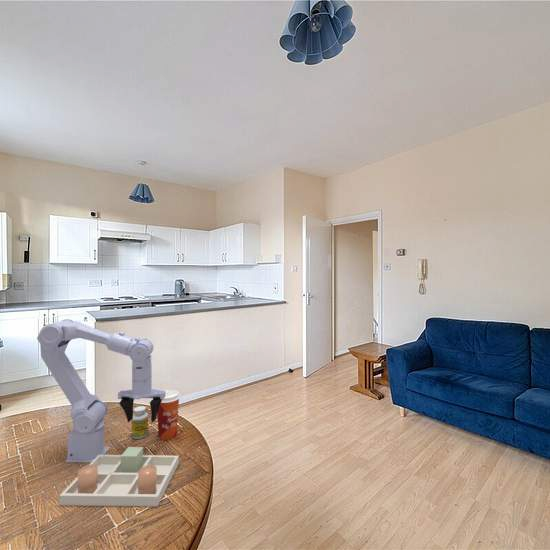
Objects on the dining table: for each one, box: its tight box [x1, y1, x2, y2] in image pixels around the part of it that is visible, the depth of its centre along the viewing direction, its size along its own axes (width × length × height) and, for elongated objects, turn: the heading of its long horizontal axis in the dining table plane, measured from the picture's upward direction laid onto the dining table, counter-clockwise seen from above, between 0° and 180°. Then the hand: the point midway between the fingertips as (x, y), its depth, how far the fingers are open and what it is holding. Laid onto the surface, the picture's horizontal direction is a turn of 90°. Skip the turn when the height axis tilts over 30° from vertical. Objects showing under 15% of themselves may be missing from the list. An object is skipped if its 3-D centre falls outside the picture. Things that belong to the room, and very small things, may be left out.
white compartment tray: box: [58, 454, 180, 508], centre depth 82 cm, size 24×16×3 cm
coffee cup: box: [156, 389, 181, 441], centre depth 106 cm, size 8×8×15 cm
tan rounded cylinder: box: [77, 464, 98, 494], centre depth 78 cm, size 4×4×6 cm
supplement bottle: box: [131, 405, 149, 440], centre depth 107 cm, size 5×5×10 cm
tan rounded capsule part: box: [138, 465, 157, 494], centre depth 78 cm, size 4×4×6 cm
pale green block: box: [120, 446, 144, 473], centre depth 86 cm, size 4×4×6 cm
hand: (142, 420), depth 96 cm, fingers open, 7 cm apart
